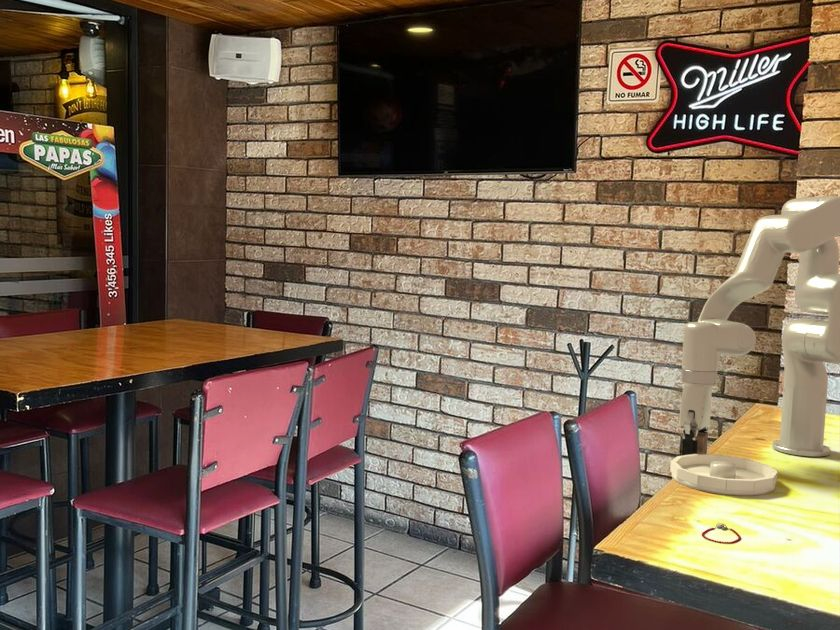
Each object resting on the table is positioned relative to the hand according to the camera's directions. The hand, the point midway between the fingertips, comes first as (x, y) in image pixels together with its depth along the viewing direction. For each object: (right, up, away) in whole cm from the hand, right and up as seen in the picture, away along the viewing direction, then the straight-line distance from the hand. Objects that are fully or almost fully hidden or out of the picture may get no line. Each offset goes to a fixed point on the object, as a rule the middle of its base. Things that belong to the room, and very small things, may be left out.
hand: (694, 452), depth 189 cm
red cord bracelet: (-11, -6, -49) cm, 51 cm away
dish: (0, -3, -16) cm, 17 cm away
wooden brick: (0, -2, 0) cm, 2 cm away
